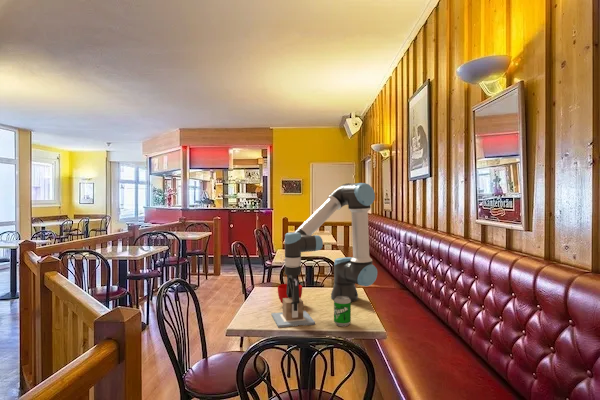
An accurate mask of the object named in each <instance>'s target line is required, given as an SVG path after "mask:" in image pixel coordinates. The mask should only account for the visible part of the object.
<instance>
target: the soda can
mask: <svg viewBox="0 0 600 400" xmlns="http://www.w3.org/2000/svg"><path fill="white" fill-rule="evenodd" d="M351 311H352V302H351V300H350V299H349V297H346V296H337V297H336V298H335V299H334V300H333V322H334V324H335V325H336V326H338V327H347V326H349V325H350V324H351V323H352V321H351V319H352V318H351V314H352V312H351Z"/></svg>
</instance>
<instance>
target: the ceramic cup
mask: <svg viewBox="0 0 600 400" xmlns="http://www.w3.org/2000/svg"><path fill="white" fill-rule="evenodd" d="M286 293H287V283H281V284H279V285H277V295H278V299H279V301H280V303H281V304H282V305H283V298H288V297H287V294H286ZM302 293H303V285H301V284H299V298H300V299H301V300H302V295H303V294H302Z"/></svg>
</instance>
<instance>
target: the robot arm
mask: <svg viewBox="0 0 600 400" xmlns="http://www.w3.org/2000/svg"><path fill="white" fill-rule="evenodd" d="M374 190H375V189H374V188H373V187H372V186H371V185H370V184H369V183H365V182H356V183H351V182H350V183H349V182H348V183H344V184H342V185H340V186H338V187H337V188H335V189H334V190H333V191H332V192H331V193H330V194H328V196H327V198H326V200H325V201H324V202H323V203H322V204H321V205H320V206H319V207H318V208H317V209H316V210H315V211H314V212H313V213H312V214H311V215H310V216H309V217H308V218H307V219H306V220H305V221H304V222H303V223H302V224H301V225H300V226H299V227H298V228H297V229H296V230H295V231H294V232H287V233H285V234H284V242H283V243H284V258H283V261H284V274H285V275H286V284H287V293H286V294H287V297H288V298H292V301H293V302H291V304H292V318H297V317H298V303H299V302H300V301H299V285H300V281H299V280H298V278H297V277H298V276H299V275H301V273H302V269H301V268H302V266H301V264H302V253H307V252H308V253H309V252H316V251H320V250H322V248H323V245H324V243H323V241H324V240H323V238H322V237H321V236H320V235H315V234H314V233H315V232H317V230H318V229H319V228H320V227H321V226H322V225H323V224H324V223H325V222H326V221H327V220H328V219H329V218H330V217H331V216H332V215H333V214H334V213H335V212H336V211H339V210H340V209H342V208H343V207H345V206H347V209H348V210H349V211H350V212H351V238H352V240H351V241H352V256H349V257H348V256H347V257H346V256H344V257H337V258H335V259H334V263H333V278H334V279H333V288H332V290H331V293H330V298H331V300H333V301H334V299H335V298H336V297H337V296H346V297H349V299H350V300H351V303H353V302H357V301H358V300H359V293H358V290H357V287H356V285H359V286H361V287H369V286H372V285H373V284H374V283H375V282H376V280H377V277H378V269H377V267H376V266H375V265H374V264H373V258H371V256H370V241H369V238H370V237H369V236H370V235H369V211H370V210H371V208H372V207H371V206H372V204H373V203H374V201H375V200H376V195H375V194H376V193H375V191H374ZM296 300H297V301H296Z"/></svg>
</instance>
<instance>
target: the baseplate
mask: <svg viewBox="0 0 600 400" xmlns="http://www.w3.org/2000/svg"><path fill="white" fill-rule="evenodd" d="M271 317H272V320H274V323H275V324H276V326H277V328H279V329H280V327H281V328H290V327H289V326H292V327H299V326H298V325H303V326H314V325H316V321H315V320H314V319H313V318H312V316H310V314H309V313H308V311H306V310H303V319H298V320H287V321H286V319H285V318H284V316H283V311H282V312H281V311H280V312H272V313H271Z"/></svg>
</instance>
